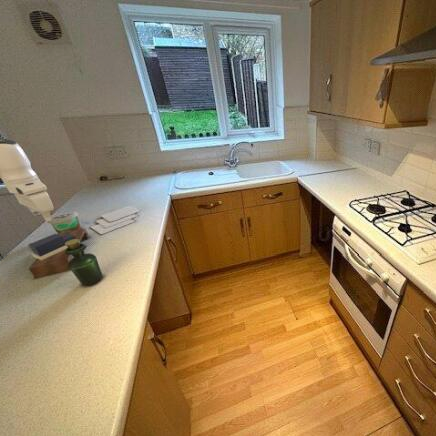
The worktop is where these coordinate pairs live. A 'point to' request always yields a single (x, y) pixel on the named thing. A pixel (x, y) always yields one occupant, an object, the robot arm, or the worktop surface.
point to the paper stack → (115, 219)
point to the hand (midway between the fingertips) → (42, 217)
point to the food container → (66, 223)
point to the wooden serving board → (56, 258)
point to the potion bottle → (83, 264)
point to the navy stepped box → (50, 245)
